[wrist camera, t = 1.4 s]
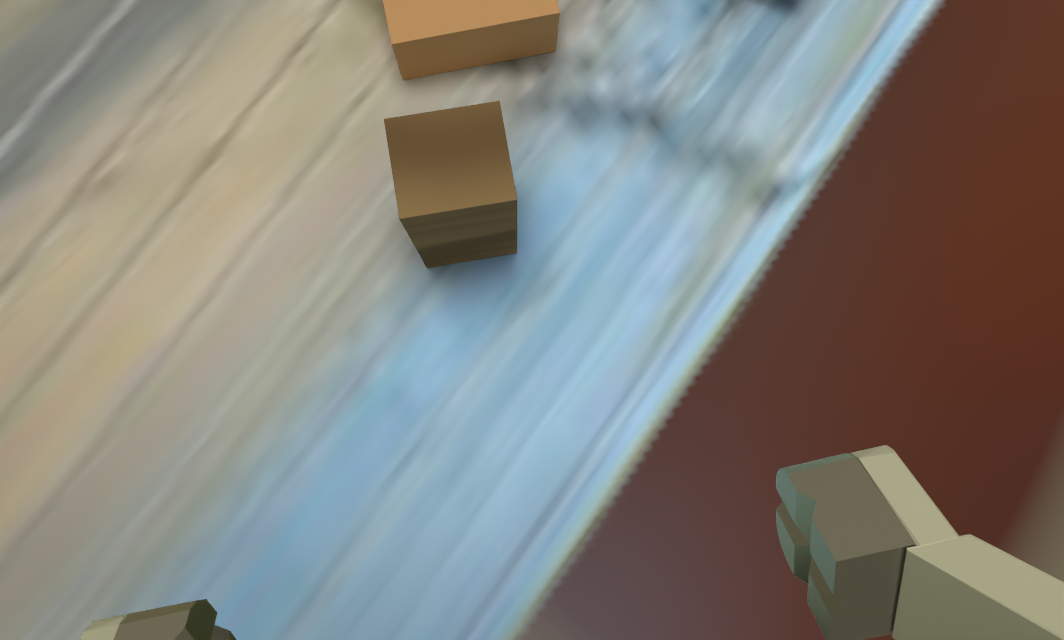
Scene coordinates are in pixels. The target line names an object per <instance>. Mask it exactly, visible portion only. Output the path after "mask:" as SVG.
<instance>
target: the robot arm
mask: <svg viewBox="0 0 1064 640" xmlns="http://www.w3.org/2000/svg"><path fill="white" fill-rule="evenodd" d="M776 488H777V490H778V492H779V494H780V496H781V498H782V500H783V502H782V503H781V504H780V505H779V506H778V508H777V509H776V520H777V529H778V534H779V538H780V543H781V546H782V548H783V551H784V554H785V557H786V559H787V561H788V563H789V565H790V568H791V570H792V572H793V574H794V575H795V576H797V577H798V578H800V579H802V580H803V581H805V582H806V583H808V604H809V606H810V608H811V610H812V612H813V614H814V616H815V618H816V620H817V622H818V624H819V626H820V628H821V630H822V632H823V634H824V636H825V638H826V640H862V639H868V638H873V637H878V636H883V635H888V634H893V635H892V637H893V638H894V639H895V640H1064V582H1062V581H1060V580H1058V579H1056V578H1054V577H1052V576H1050V575H1048V574H1047V573H1045V572H1043V571H1041V570H1039V569H1037V568H1035V567H1033V566H1031V565H1029V564H1027V563H1025V562H1023V561H1021V560H1019V559H1017V558H1015V557H1014V556H1012V555H1010V554H1008V553H1006V552H1004V551H1002V550H1000V549H998V548H996V547H994V546H992V545H990V544H988V543H986V542H984V541H983V540H981V539H978V538H977V537H975V536H973V535H971V534H969V535H963V536H959V535H958V534H957V533H956V532H955V530H954V529H953V528H952V526H951V525H950V524H949V522H948V521H947V520H946V518H945V517H944V516H943V514H942V513H941V512H940V510H939V509H938V508H937V507H936V505H935V504H934V502H933V501H932V500H931V499H930V497H929V496H928V495H927V493H926V492H925V491H924V489H923V488H922V487H921V485H920V484H919V483H918V481H917V480H916V479H915V477H914V476H913V475H912V473H911V472H910V471H909V470H908V468H907V467H906V465H905V464H904V463H903V462H902V460H901V459H900V458H899V456H898V455H897V454H896V452H895V451H894V450H893V449H892V448H890V447H888V446H887V445H884V446H880V447H875V448H871V449H866V450H862V451H857V452H853V453H850V454H846V453H845V454H841V455H837V456H833V457H828V458H824V459H820V460H816V461H812V462H807V463H804V464H799V465H795V466H791V467H786V468H782V469H779V471H778V473H777V483H776ZM216 616H217V612H216V611H215V609H214V608H213V607H212V606H211V604H210V603H209V602H208V601H207V599H204V600H197V601H192V602H187V603H182V604H177V605H172V606H166V607H161V608H156V609H151V610H146V611H141V612H136V613H131V614H127V615H122V616H117V617H112V618H108V619H103V620H98V621H93V623H92V624H91V625H90V626H89V627H88V628H87V629H86V630H85V631H84V632H83V634H82V636H81V639H80V640H236V638H235V637H234V636H233V634H232V633H231V631H229V630H226V629H224V628H221V627H219V626H216V625H214V624H215V620H216Z"/></svg>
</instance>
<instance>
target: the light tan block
mask: <svg viewBox="0 0 1064 640" xmlns="http://www.w3.org/2000/svg"><path fill="white" fill-rule="evenodd" d="M383 4H384V9H385V14H386V19H387V24H388V29H389V34H390V39H391V44H392V47H393V50H394V53H395V56H396V59H397V62H398V65H399V69H400V72H401V75H402V78H403V80H408V79H413V78H418V77H424V76H429V75H434V74H439V73H445V72H450V71H455V70H460V69H466V68H471V67H476V66H481V65H486V64H492V63H497V62H502V61H507V60H513V59H518V58H523V57H528V56H534V55H539V54H544V53H549V52H555V51H556V42H557V33H558V24H559V15H560V12H559V8H558V3H557V0H383Z"/></svg>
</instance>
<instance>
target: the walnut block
mask: <svg viewBox="0 0 1064 640" xmlns="http://www.w3.org/2000/svg"><path fill="white" fill-rule="evenodd" d="M384 123H385V129H386V135H387V142H388V148H389V155H390V161H391V167H392V174H393V180H394V187H395V193H396V199H397V206H398V212H399V219H400V221H401V222H402V224H403V226H404V228H405V229H406V231H407V233H408V235H409V237H410V238H411V240H412V242H413V244H414V245H415V247H416V249H417V251H418V253H419V254H420V256H421V258H422V260H423V261H424V263H425V265H426V267H427V268H430V267H436V266H442V265H448V264H454V263H460V262H466V261H472V260H478V259H484V258H490V257H496V256H502V255H508V254H514V253H517V196H516V191H515V185H514V179H513V174H512V168H511V163H510V157H509V151H508V146H507V140H506V135H505V129H504V123H503V118H502V112H501V106H500V101H496V102H490V103H483V104H477V105H471V106H464V107H458V108H452V109H445V110H439V111H433V112H426V113H420V114H413V115H407V116H401V117H394V118H388V119H384Z"/></svg>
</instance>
